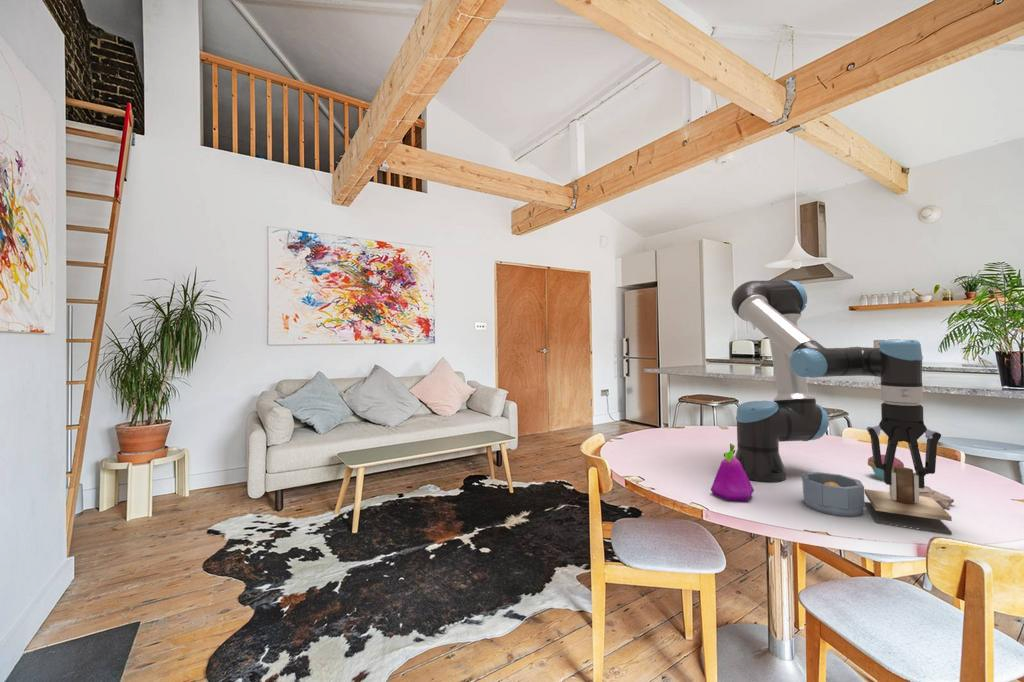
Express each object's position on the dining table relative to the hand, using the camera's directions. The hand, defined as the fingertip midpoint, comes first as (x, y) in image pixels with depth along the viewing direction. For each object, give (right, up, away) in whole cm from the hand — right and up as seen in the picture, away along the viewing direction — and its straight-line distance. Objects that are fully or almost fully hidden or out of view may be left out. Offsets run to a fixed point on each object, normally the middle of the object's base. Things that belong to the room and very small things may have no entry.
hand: (904, 499), depth 103 cm
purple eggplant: (-33, -6, +17) cm, 37 cm away
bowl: (-12, -5, +8) cm, 15 cm away
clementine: (-12, -3, +8) cm, 14 cm away
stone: (+15, -5, +11) cm, 20 cm away
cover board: (0, -2, 0) cm, 2 cm away
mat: (0, -4, 0) cm, 5 cm away
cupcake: (+20, -4, +28) cm, 35 cm away
